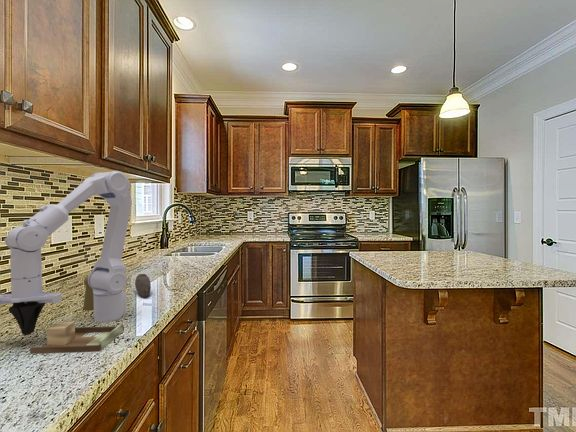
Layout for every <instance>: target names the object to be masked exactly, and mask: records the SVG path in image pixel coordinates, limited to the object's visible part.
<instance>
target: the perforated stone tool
mask: <svg viewBox="0 0 576 432" xmlns="http://www.w3.org/2000/svg"><path fill="white" fill-rule="evenodd" d="M134 285H135V289H136V292H137V294H139V296H141V297H148V296H149V295H150V293H151V289H152V284H151V281H150V277H149V276H148V275H147V274H146V273H139V274H137V276H136V277H135V281H134Z"/></svg>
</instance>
